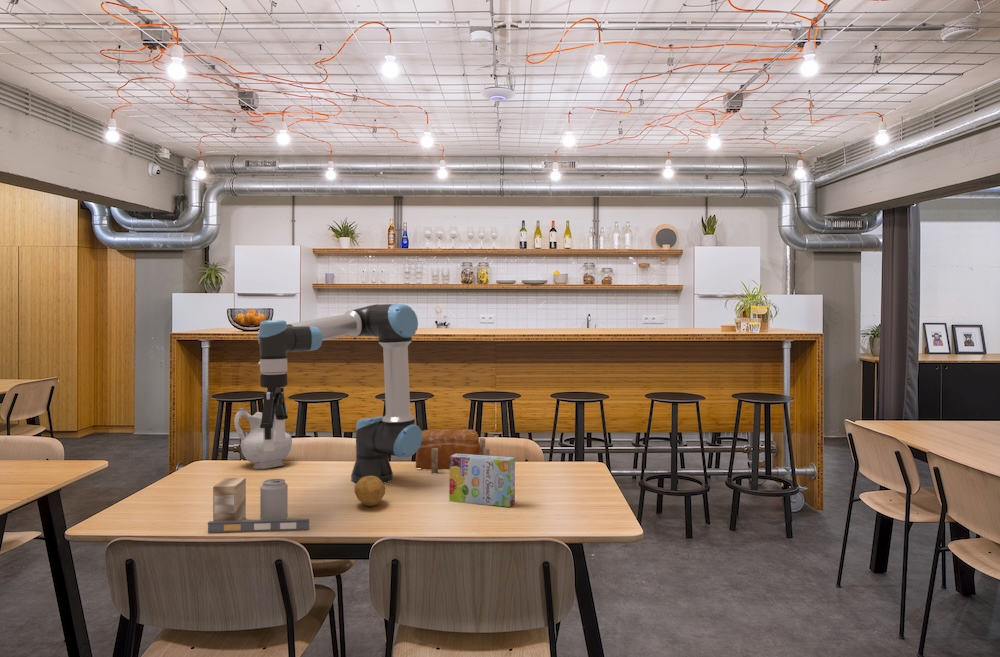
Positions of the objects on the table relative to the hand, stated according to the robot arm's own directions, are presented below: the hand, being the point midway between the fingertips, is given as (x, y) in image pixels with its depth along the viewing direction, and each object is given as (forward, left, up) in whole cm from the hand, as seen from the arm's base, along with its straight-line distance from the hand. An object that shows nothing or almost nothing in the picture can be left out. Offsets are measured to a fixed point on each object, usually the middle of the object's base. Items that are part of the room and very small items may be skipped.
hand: (274, 445), depth 186 cm
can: (0, 0, -22) cm, 22 cm away
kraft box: (+12, +1, -22) cm, 25 cm away
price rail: (+2, +8, -22) cm, 24 cm away
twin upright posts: (-57, -64, -22) cm, 88 cm away
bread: (-52, -65, -22) cm, 87 cm away
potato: (-26, -14, -22) cm, 37 cm away
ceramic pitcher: (+21, -72, -22) cm, 78 cm away
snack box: (-62, -14, -22) cm, 67 cm away
